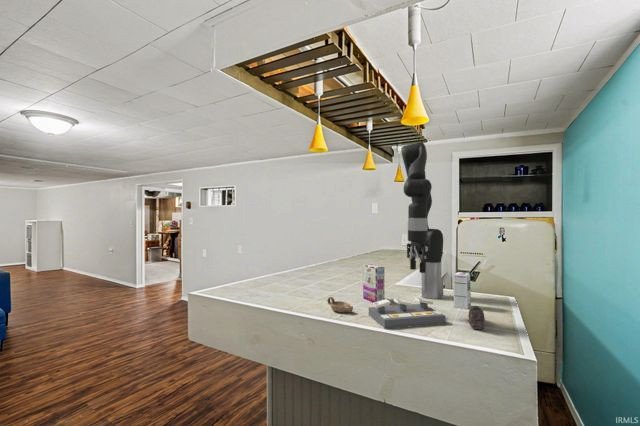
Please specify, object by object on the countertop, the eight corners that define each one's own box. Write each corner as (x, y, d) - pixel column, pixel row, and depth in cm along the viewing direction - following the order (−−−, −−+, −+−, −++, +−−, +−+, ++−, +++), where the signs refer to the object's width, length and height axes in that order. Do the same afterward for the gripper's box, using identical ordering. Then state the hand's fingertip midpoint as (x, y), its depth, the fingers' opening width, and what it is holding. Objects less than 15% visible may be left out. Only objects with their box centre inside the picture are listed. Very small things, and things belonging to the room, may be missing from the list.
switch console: (422, 310, 134) (422, 298, 134) (445, 323, 119) (445, 309, 119) (368, 314, 129) (368, 302, 129) (384, 328, 114) (384, 314, 114)
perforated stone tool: (469, 318, 125) (469, 300, 125) (484, 320, 122) (484, 302, 122) (467, 331, 111) (467, 311, 111) (484, 333, 109) (484, 313, 109)
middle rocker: (407, 303, 128) (407, 300, 128) (411, 305, 125) (412, 303, 125) (393, 301, 127) (394, 298, 127) (397, 303, 124) (398, 300, 124)
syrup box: (467, 309, 136) (467, 275, 136) (453, 306, 140) (453, 273, 140) (471, 306, 141) (470, 273, 141) (456, 303, 144) (456, 271, 144)
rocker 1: (386, 301, 126) (386, 298, 126) (390, 303, 123) (390, 301, 123) (372, 305, 125) (372, 302, 125) (376, 308, 122) (375, 305, 122)
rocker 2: (427, 301, 130) (428, 299, 130) (432, 304, 127) (433, 301, 127) (414, 299, 129) (415, 297, 129) (419, 302, 125) (419, 299, 125)
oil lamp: (357, 312, 133) (357, 300, 133) (345, 316, 128) (345, 304, 128) (334, 306, 142) (334, 294, 142) (322, 309, 137) (322, 297, 137)
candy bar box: (385, 302, 147) (385, 266, 147) (376, 304, 145) (375, 267, 145) (371, 297, 157) (371, 263, 157) (362, 298, 155) (362, 264, 155)
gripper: (436, 230, 121) (436, 273, 121) (417, 228, 135) (417, 267, 135) (417, 230, 120) (417, 274, 120) (400, 228, 134) (400, 268, 134)
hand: (417, 270), depth 127 cm, fingers open, 7 cm apart
